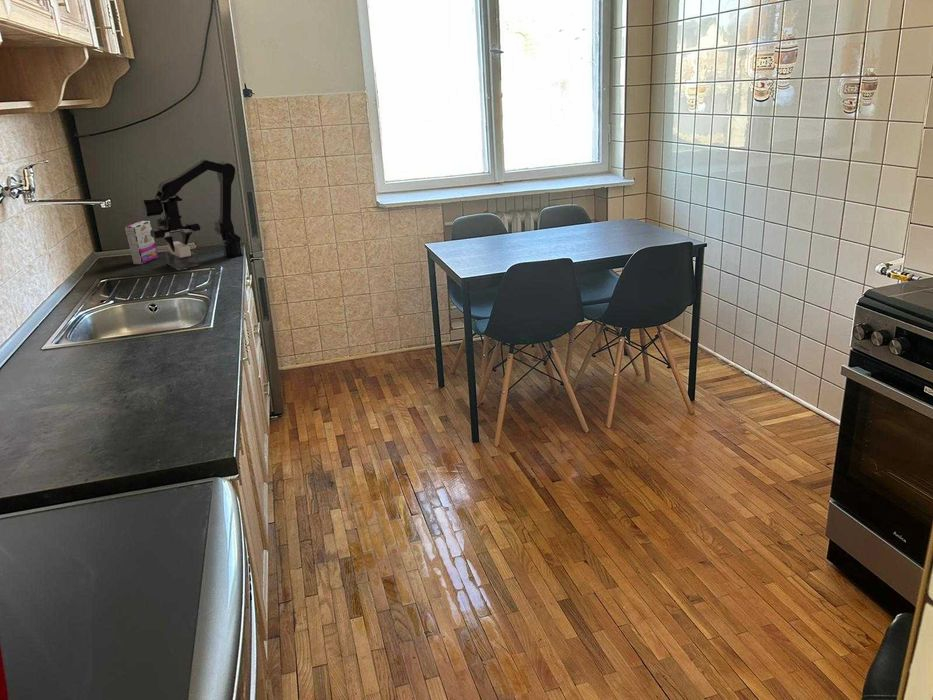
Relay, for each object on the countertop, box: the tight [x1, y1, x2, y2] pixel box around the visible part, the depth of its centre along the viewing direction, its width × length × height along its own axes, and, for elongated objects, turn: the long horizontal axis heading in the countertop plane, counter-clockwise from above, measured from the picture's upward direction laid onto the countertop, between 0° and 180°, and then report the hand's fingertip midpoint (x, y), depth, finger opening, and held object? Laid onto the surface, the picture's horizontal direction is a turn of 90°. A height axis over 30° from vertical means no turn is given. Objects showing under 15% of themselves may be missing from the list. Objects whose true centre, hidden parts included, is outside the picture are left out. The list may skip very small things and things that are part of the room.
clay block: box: [167, 241, 192, 258], centre depth 294 cm, size 4×12×4 cm, turn 42°
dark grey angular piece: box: [164, 251, 199, 270], centre depth 296 cm, size 8×14×6 cm, turn 42°
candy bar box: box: [124, 220, 159, 265], centre depth 303 cm, size 11×5×16 cm, turn 167°
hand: (179, 250), depth 295 cm, fingers closed on clay block, 4 cm apart
